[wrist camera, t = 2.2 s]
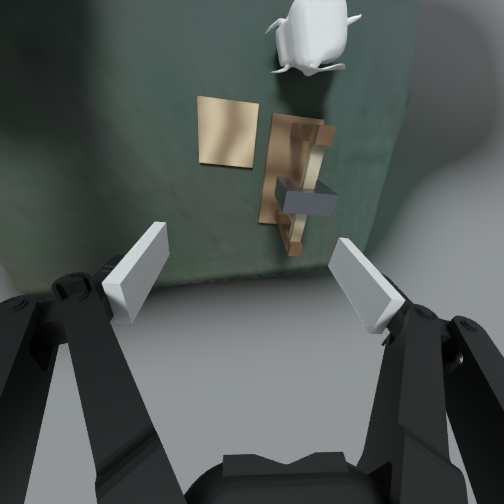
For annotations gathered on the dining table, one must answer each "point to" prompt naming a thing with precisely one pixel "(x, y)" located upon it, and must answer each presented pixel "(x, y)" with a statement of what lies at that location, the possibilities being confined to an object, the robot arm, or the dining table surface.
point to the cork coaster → (226, 131)
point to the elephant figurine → (312, 35)
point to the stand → (292, 170)
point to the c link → (304, 198)
